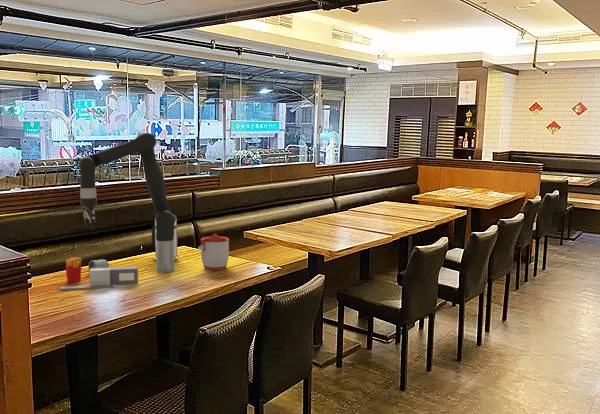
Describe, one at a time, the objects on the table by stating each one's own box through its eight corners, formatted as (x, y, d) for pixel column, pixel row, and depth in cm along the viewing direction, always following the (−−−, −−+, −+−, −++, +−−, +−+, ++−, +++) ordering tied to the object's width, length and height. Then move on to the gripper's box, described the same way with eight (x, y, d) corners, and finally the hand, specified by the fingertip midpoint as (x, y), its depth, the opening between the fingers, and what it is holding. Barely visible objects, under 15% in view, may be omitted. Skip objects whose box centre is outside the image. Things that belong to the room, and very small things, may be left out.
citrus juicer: (193, 267, 299) (193, 232, 296) (221, 263, 309) (221, 229, 306) (204, 274, 286) (204, 237, 284) (234, 270, 296) (234, 234, 293)
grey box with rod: (138, 281, 270) (137, 266, 269) (136, 287, 261) (136, 271, 260) (63, 284, 262) (63, 269, 261) (59, 290, 253) (58, 274, 252)
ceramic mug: (110, 273, 285) (109, 259, 284) (96, 276, 278) (95, 261, 277) (98, 270, 291) (98, 256, 290) (84, 273, 284) (84, 259, 283)
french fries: (70, 284, 264) (69, 260, 262) (64, 282, 266) (63, 259, 264) (84, 280, 271) (83, 256, 270) (78, 278, 273) (77, 255, 271)
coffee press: (181, 256, 324) (180, 207, 320) (177, 263, 308) (176, 211, 304) (152, 256, 323) (151, 207, 319) (146, 263, 307) (145, 211, 303)
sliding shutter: (110, 284, 260) (109, 269, 259) (109, 285, 259) (109, 269, 258) (90, 285, 258) (89, 269, 257) (90, 286, 257) (89, 270, 256)
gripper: (100, 197, 266) (102, 229, 268) (92, 194, 277) (93, 225, 280) (84, 198, 261) (86, 231, 264) (76, 195, 273) (78, 227, 275)
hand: (90, 228), depth 272 cm, fingers open, 8 cm apart
